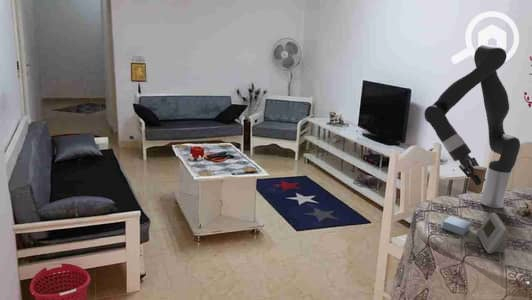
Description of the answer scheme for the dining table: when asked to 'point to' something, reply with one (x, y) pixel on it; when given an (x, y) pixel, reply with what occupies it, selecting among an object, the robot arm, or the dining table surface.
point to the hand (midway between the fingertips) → (481, 182)
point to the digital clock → (493, 234)
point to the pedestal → (456, 225)
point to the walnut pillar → (481, 174)
